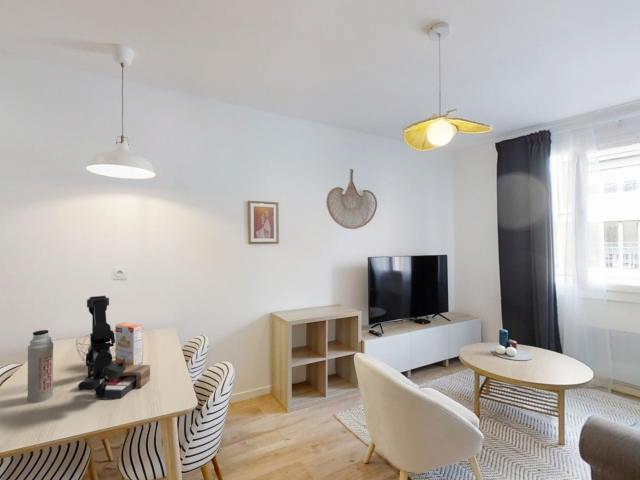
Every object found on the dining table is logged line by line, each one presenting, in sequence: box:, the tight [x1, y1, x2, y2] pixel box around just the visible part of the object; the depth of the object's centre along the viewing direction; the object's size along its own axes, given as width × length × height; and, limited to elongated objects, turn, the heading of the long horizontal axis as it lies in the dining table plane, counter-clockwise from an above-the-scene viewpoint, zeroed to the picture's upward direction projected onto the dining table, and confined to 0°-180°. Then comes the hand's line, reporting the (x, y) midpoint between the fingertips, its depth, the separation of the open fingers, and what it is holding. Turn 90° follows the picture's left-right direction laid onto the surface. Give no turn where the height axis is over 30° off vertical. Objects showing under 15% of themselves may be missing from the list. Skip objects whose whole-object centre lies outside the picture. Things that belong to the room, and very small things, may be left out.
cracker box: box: [114, 321, 144, 365], centre depth 168 cm, size 14×6×21 cm, turn 68°
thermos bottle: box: [27, 329, 54, 404], centre depth 131 cm, size 8×8×28 cm
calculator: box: [94, 376, 136, 400], centre depth 139 cm, size 11×4×15 cm
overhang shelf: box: [90, 364, 151, 389], centre depth 144 cm, size 22×8×7 cm, turn 92°
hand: (101, 397), depth 130 cm, fingers closed
